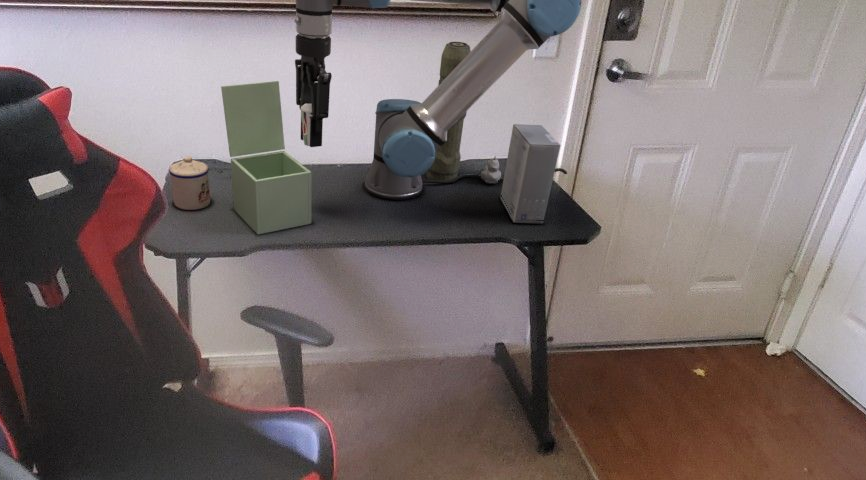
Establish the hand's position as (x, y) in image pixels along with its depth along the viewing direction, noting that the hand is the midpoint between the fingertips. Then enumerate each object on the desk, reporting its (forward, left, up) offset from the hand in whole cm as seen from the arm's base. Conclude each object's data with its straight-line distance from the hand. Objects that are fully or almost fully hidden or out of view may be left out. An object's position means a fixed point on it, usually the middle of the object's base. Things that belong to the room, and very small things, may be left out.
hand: (311, 142), depth 153 cm
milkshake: (0, 0, 0) cm, 0 cm away
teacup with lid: (+29, -2, -17) cm, 34 cm away
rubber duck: (-48, -23, -17) cm, 56 cm away
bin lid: (+13, -2, +4) cm, 14 cm away
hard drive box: (-53, -5, -17) cm, 56 cm away
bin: (+9, +5, -17) cm, 20 cm away
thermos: (-35, -25, -17) cm, 46 cm away
